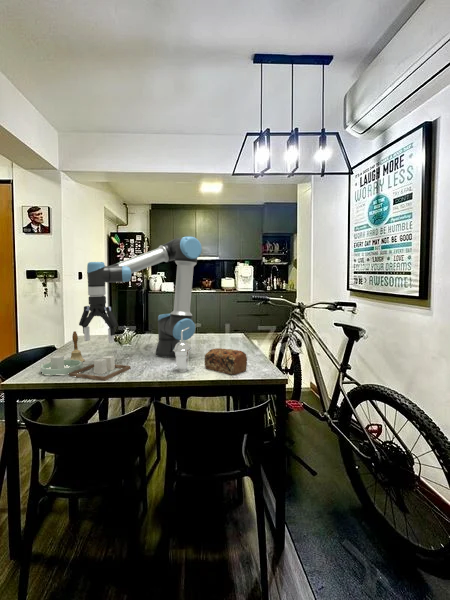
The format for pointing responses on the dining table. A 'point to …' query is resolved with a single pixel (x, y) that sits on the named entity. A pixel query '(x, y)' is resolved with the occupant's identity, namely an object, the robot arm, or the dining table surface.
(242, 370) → the bread
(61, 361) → the white rectangular block
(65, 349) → the dining table surface
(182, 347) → the cup with straw
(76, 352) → the hand bell
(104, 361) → the white block
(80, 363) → the bowl
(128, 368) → the tray
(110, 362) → the white upright block
